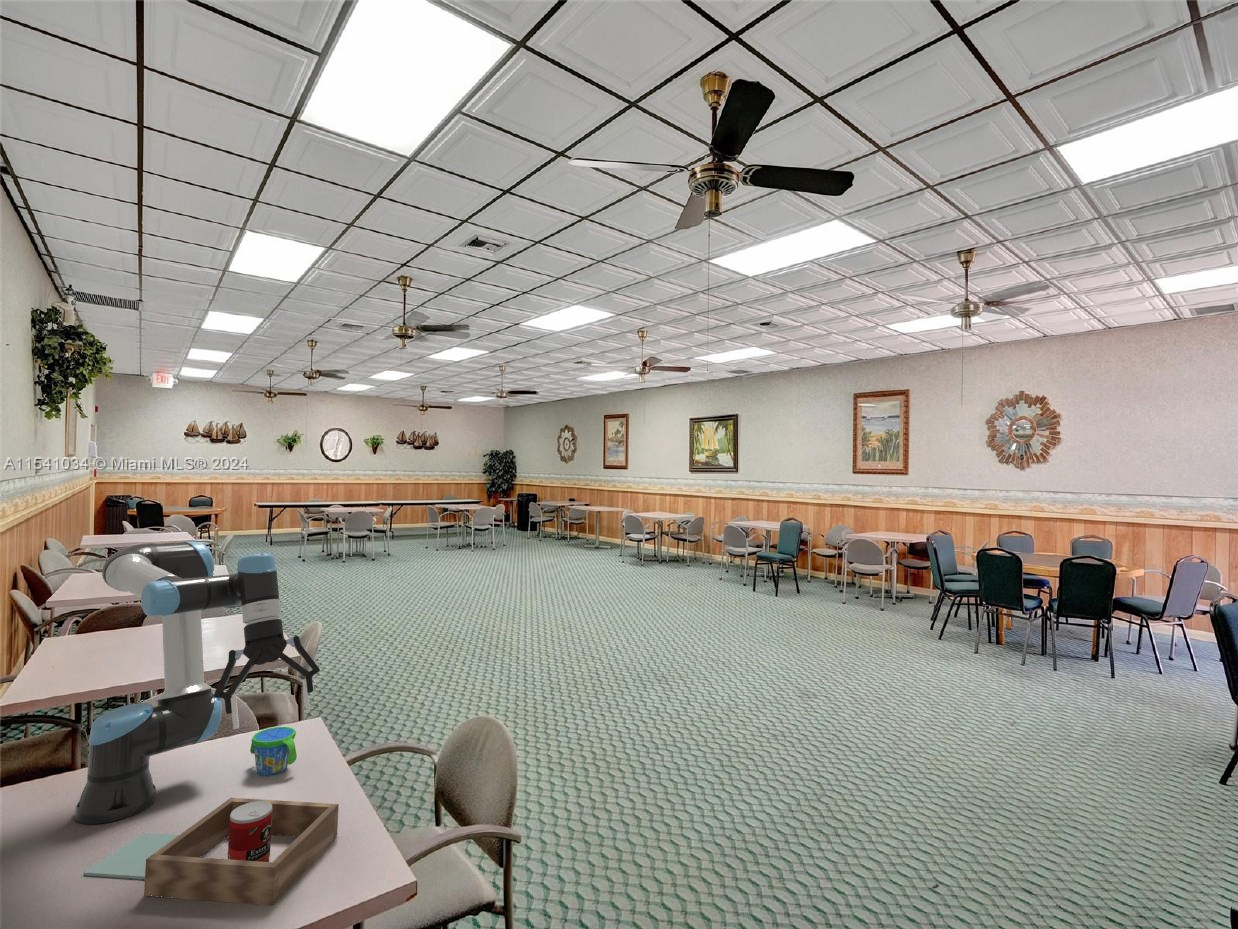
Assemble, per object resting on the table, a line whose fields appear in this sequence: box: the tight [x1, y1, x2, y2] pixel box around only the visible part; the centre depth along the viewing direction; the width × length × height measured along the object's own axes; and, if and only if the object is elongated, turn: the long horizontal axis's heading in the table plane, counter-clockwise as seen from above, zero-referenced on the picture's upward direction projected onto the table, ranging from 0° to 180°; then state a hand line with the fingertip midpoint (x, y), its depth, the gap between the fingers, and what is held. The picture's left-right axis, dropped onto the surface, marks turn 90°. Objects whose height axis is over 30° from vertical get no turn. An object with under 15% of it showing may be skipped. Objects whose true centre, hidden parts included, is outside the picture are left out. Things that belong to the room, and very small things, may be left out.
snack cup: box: [249, 726, 297, 777], centre depth 165 cm, size 16×10×10 cm
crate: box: [143, 797, 339, 906], centre depth 125 cm, size 26×23×7 cm
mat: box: [83, 832, 180, 880], centre depth 126 cm, size 14×14×1 cm
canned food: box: [227, 801, 272, 862], centre depth 125 cm, size 8×8×11 cm
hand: (273, 718), depth 129 cm, fingers open, 13 cm apart
